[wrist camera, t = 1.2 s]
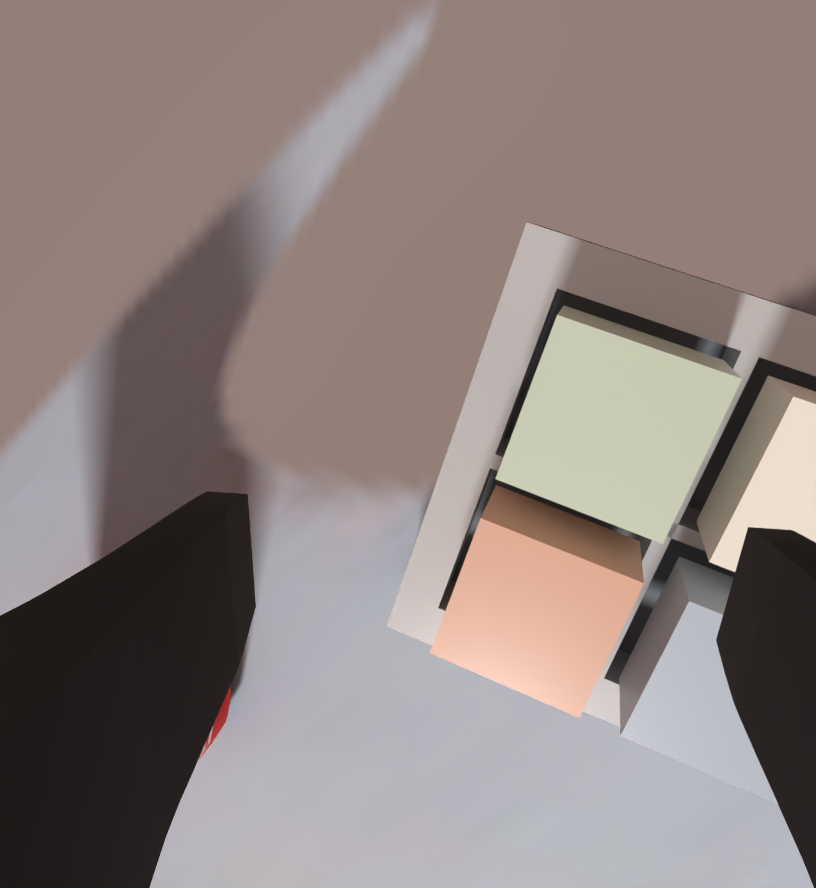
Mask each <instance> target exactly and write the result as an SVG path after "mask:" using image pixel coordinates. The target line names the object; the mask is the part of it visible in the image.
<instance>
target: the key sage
mask: <svg viewBox="0 0 816 888" xmlns="http://www.w3.org/2000/svg"><path fill="white" fill-rule="evenodd" d="M741 380H742V378H741V377H740V376H739V375H738V374H737V373H736V372H735V371H734V370H733V369H732V368H731V367H730V366H729V365H728V364H727V363H726V362H725V361H724V360H722V359H719V358H716V357H713V356H710V355H707V354H704V353H701V352H698V351H695V350H693V349H690V348H687V347H684V346H681V345H678V344H675V343H672V342H669V341H666V340H663V339H661V338H658V337H655V336H652V335H649V334H646V333H643V332H640V331H637V330H634V329H631V328H628V327H626V326H623V325H620V324H617V323H614V322H611V321H608V320H605V319H602V318H599V317H596V316H593V315H591V314H588V313H585V312H582V311H579V310H576V309H573V308H570V307H567V306H563V307H562V309H561V310H560V312H559V313H558V314H557V317H556V319H555V322H554V324H553V327H552V330H551V332H550V335H549V338H548V340H547V343H546V346H545V348H544V351H543V354H542V356H541V359H540V362H539V364H538V367H537V370H536V372H535V375H534V378H533V380H532V383H531V386H530V388H529V391H528V393H527V396H526V399H525V401H524V404H523V407H522V409H521V412H520V415H519V417H518V420H517V423H516V425H515V428H514V431H513V433H512V436H511V439H510V441H509V444H508V447H507V449H506V452H505V455H504V457H503V460H502V463H501V465H500V468H499V470H498V473H497V476H496V478H495V479H497V480H499V481H502V482H504V483H507V484H509V485H512V486H515V487H517V488H520V489H522V490H525V491H527V492H530V493H533V494H535V495H538V496H540V497H543V498H545V499H548V500H551V501H553V502H556V503H558V504H561V505H563V506H566V507H569V508H571V509H574V510H576V511H579V512H581V513H584V514H587V515H589V516H592V517H594V518H597V519H599V520H602V521H605V522H607V523H610V524H612V525H615V526H617V527H620V528H623V529H625V530H628V531H630V532H633V533H635V534H638V535H641V536H643V537H646V538H648V539H651V540H654V541H656V542H659V543H661V544H663V543H664V541H665V539H666V536H667V534H668V532H669V530H670V528H671V526H672V524H673V522H674V520H675V518H676V516H677V514H678V511H679V509H680V507H681V505H682V503H683V501H684V499H685V497H686V495H687V493H688V491H689V489H690V486H691V484H692V482H693V480H694V478H695V476H696V474H697V472H698V470H699V468H700V466H701V463H702V461H703V459H704V457H705V455H706V453H707V451H708V449H709V447H710V445H711V443H712V441H713V438H714V436H715V434H716V432H717V430H718V428H719V426H720V424H721V422H722V420H723V418H724V416H725V413H726V411H727V409H728V407H729V405H730V403H731V401H732V399H733V397H734V395H735V393H736V391H737V388H738V386H739V384H740V382H741Z"/></svg>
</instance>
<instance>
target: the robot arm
mask: <svg viewBox="0 0 816 888" xmlns="http://www.w3.org/2000/svg"><path fill="white" fill-rule="evenodd" d="M255 607H256V604H255V590H254V577H253V563H252V549H251V535H250V522H249V508H248V494H236V493H221V492H205V493H203V494H202V495H200V496H198V497H196V498H195V499H193V500H191V501H190V502H188V503H187V504H185V505H184V506H182V507H180V508H179V509H177V510H176V511H174V512H173V513H171V514H170V515H168V516H167V517H165V518H164V519H162V520H161V521H159V522H158V523H156V524H155V525H153V526H152V527H150V528H149V529H147V530H146V531H144V532H142V533H141V534H139V535H138V536H136V537H135V538H133V539H132V540H130V541H129V542H127V543H126V544H124V545H122V546H121V547H119V548H118V549H116V550H115V551H113V552H112V553H110V554H109V555H107V556H105V557H104V558H102V559H100V560H99V561H97V562H95V563H94V564H92V565H90V566H88V567H87V568H85V569H83V570H82V571H80V572H78V573H77V574H75V575H73V576H71V577H70V578H68V579H66V580H65V581H63V582H61V583H60V584H58V585H56V586H54V587H53V588H51V589H49V590H48V591H46V592H44V593H43V594H41V595H39V596H37V597H35V598H33V599H32V600H30V601H28V602H26V603H24V604H22V605H20V606H18V607H16V608H14V609H12V610H11V611H9V612H7V613H5V614H3V615H1V616H0V888H149V887H150V884H151V881H152V878H153V875H154V872H155V869H156V865H157V862H158V859H159V856H160V853H161V850H162V847H163V844H164V841H165V838H166V835H167V833H168V830H169V828H170V825H171V822H172V820H173V817H174V815H175V812H176V810H177V807H178V804H179V802H180V800H181V798H182V795H183V793H184V791H185V788H186V786H187V784H188V782H189V779H190V777H191V775H192V773H193V770H194V768H195V766H196V763H197V761H198V759H199V757H200V754H201V752H202V750H203V747H204V745H205V743H206V741H207V738H208V736H209V734H210V732H211V729H212V727H213V725H214V722H215V720H216V718H217V716H218V713H219V711H220V709H221V706H222V704H223V702H224V699H225V697H226V695H227V692H228V690H229V688H230V685H231V683H232V681H233V678H234V676H235V674H236V671H237V669H238V666H239V663H240V660H241V657H242V653H243V650H244V647H245V643H246V640H247V636H248V633H249V629H250V625H251V622H252V618H253V614H254V611H255ZM716 642H717V646H718V650H719V653H720V657H721V661H722V665H723V668H724V672H725V676H726V679H727V682H728V686H729V689H730V692H731V696H732V699H733V702H734V705H735V707H736V710H737V712H738V715H739V717H740V719H741V722H742V724H743V726H744V729H745V731H746V733H747V735H748V738H749V740H750V742H751V745H752V747H753V749H754V751H755V754H756V756H757V758H758V760H759V763H760V765H761V767H762V769H763V772H764V774H765V776H766V778H767V780H768V783H769V785H770V787H771V789H772V792H773V794H774V796H775V798H776V801H777V803H778V805H779V807H780V809H781V812H782V814H783V816H784V818H785V821H786V823H787V825H788V827H789V829H790V832H791V834H792V836H793V838H794V841H795V843H796V845H797V847H798V850H799V852H800V854H801V856H802V859H803V861H804V864H805V866H806V869H807V871H808V873H809V876H810V878H811V881H812V883H813V886H814V888H816V543H815V542H814V541H812V540H810V539H808V538H807V537H805V536H803V535H801V534H799V533H797V532H795V531H793V530H784V529H769V528H754V527H748V529H747V533H746V536H745V540H744V543H743V547H742V550H741V554H740V557H739V561H738V564H737V568H736V571H735V575H734V578H733V582H732V585H731V589H730V592H729V596H728V599H727V603H726V606H725V610H724V613H723V617H722V621H721V624H720V628H719V631H718V635H717V638H716Z"/></svg>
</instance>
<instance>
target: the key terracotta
mask: <svg viewBox="0 0 816 888" xmlns="http://www.w3.org/2000/svg"><path fill="white" fill-rule="evenodd" d="M643 584H644V578H643V568H642V558H641V549H640V541H638V540H636V539H633V538H631V537H628V536H626V535H623V534H621V533H618V532H615V531H613V530H610V529H608V528H605V527H603V526H600V525H597V524H595V523H592V522H590V521H587V520H585V519H582V518H579V517H577V516H574V515H572V514H569V513H567V512H564V511H562V510H559V509H556V508H554V507H551V506H549V505H546V504H544V503H541V502H538V501H536V500H533V499H531V498H528V497H526V496H523V495H520V494H518V493H515V492H513V491H510V490H508V489H505V488H503V487H500V486H497V485H496V486H495V488H494V490H493V493H492V495H491V497H490V499H489V501H488V503H487V505H486V508H485V510H484V512H483V514H482V516H481V518H480V521H479V524H478V526H477V529H476V532H475V534H474V537H473V539H472V542H471V545H470V547H469V550H468V553H467V555H466V558H465V561H464V563H463V566H462V569H461V571H460V574H459V577H458V579H457V582H456V585H455V587H454V590H453V593H452V595H451V598H450V601H449V603H448V606H447V608H446V611H445V614H444V616H443V619H442V622H441V624H440V627H439V630H438V632H437V635H436V638H435V640H434V643H433V646H432V648H431V651H430V653H431V654H433V655H436V656H438V657H440V658H443V659H445V660H447V661H449V662H452V663H454V664H456V665H459V666H461V667H463V668H466V669H468V670H470V671H472V672H475V673H477V674H479V675H482V676H484V677H486V678H488V679H491V680H493V681H495V682H498V683H500V684H502V685H505V686H507V687H509V688H511V689H514V690H516V691H518V692H521V693H523V694H525V695H528V696H530V697H532V698H534V699H537V700H539V701H541V702H544V703H546V704H548V705H551V706H553V707H555V708H557V709H560V710H562V711H564V712H567V713H569V714H571V715H573V716H576V717H578V718H580V716H581V714H582V712H583V709H584V707H585V705H586V703H587V701H588V699H589V697H590V695H591V693H592V691H593V689H594V687H595V684H596V682H597V680H598V678H599V676H600V674H601V672H602V670H603V668H604V666H605V664H606V662H607V659H608V657H609V655H610V653H611V651H612V649H613V647H614V645H615V643H616V641H617V639H618V636H619V634H620V632H621V630H622V628H623V626H624V624H625V622H626V620H627V618H628V616H629V614H630V611H631V609H632V607H633V605H634V603H635V601H636V599H637V597H638V595H639V593H640V591H641V589H642V586H643Z"/></svg>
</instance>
